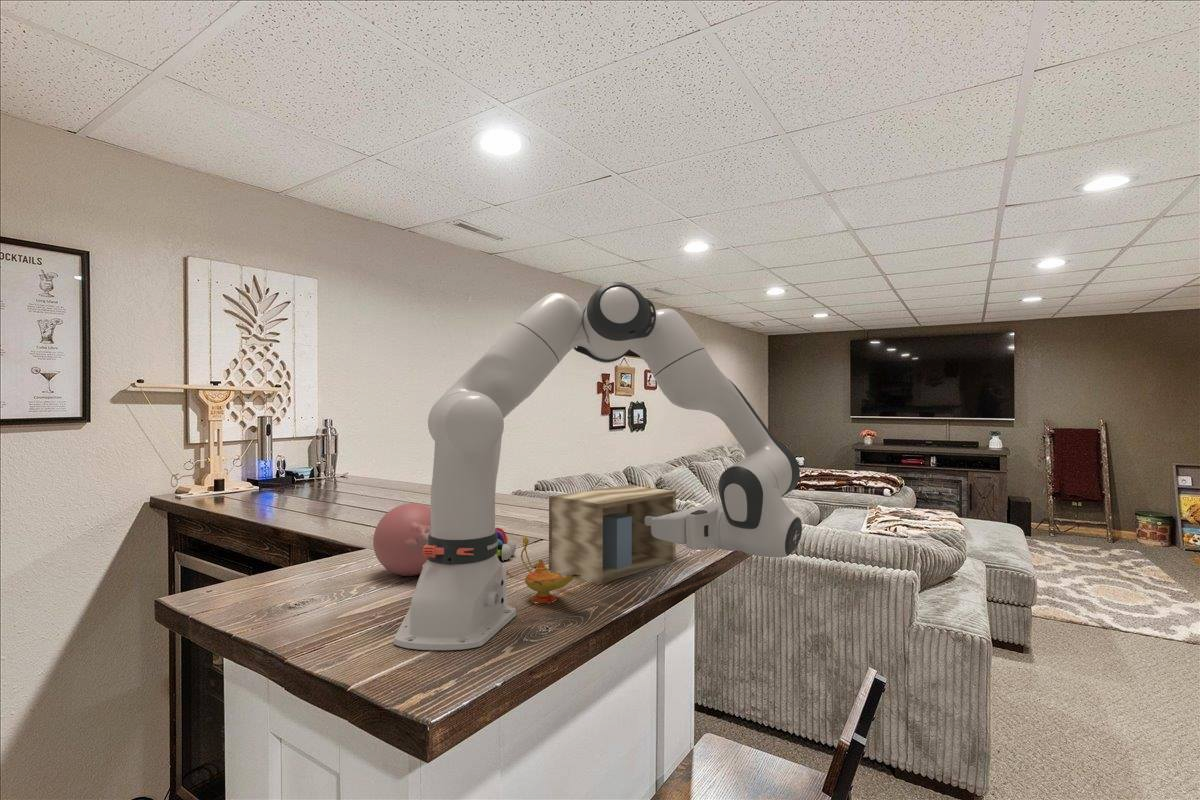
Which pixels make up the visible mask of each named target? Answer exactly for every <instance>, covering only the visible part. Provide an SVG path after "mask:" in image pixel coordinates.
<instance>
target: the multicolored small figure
mask: <svg viewBox="0 0 1200 800" xmlns="http://www.w3.org/2000/svg"><path fill="white" fill-rule="evenodd" d="M495 531H496V532H497V538H498V552H497V553H496V555H497V557H501V560H502V561H503V562H505V561H504V560H507V561H509V560H510V559H511V557H513V555H515V553H516V550H517V549H516V548H517V546H516V543H515V542H514V541H512V540H510V539H509V538H508V536H507V534H506V532H505V530H503V529H502V528H500V527H495ZM508 559H509V560H508Z"/></svg>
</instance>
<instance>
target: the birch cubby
mask: <svg viewBox="0 0 1200 800" xmlns="http://www.w3.org/2000/svg"><path fill="white" fill-rule="evenodd" d="M676 494H677V493H676V490H670V489H661V488H654V487H645V486H637V485H631V484H630V485H628V484H624V485H618V486H612V487H603V488H597V489H590V490H584V491H577V492H570V493H561V494H554V495H549V496H548V571H549V572H554V573H557V574H559V575H565V576H570V575H575V574H580V575H581V577H575V578H574V579H579V580H581V581H585V582H588V583H593V584H596V585H603V584H606V583H607V582H611V581H615V580H617V579H618V580H619V579H621V578H624V577H627V576H630V575H634V574H636V573H639V572H642V571H646V570H649V569H652V568H653V569H654V568H655V567H658V566H662V565H666V564H668V563H671V562H674V561H676V559H677V558H676V555H677V552H676V551H677V550H676V549H677V548H676V547H677V546H676V544H677V543H672V542H668V541H664V540H661V539H657V538H655V537H653V536H652V534H651V526H647V525H645V517H646V516H656V517H658V516H662V515H666V514H670V513H672V511H673V510H675V509H677V506H676V505H677V504H676V503H677V499H676V498H677V497H676V496H677V495H676ZM614 513H616V514H622V515H628V516H632V565H631V566H627V567H624V568H621V569H613V568H609V567H605V566H603V516H604V515H609V514H614Z"/></svg>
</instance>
